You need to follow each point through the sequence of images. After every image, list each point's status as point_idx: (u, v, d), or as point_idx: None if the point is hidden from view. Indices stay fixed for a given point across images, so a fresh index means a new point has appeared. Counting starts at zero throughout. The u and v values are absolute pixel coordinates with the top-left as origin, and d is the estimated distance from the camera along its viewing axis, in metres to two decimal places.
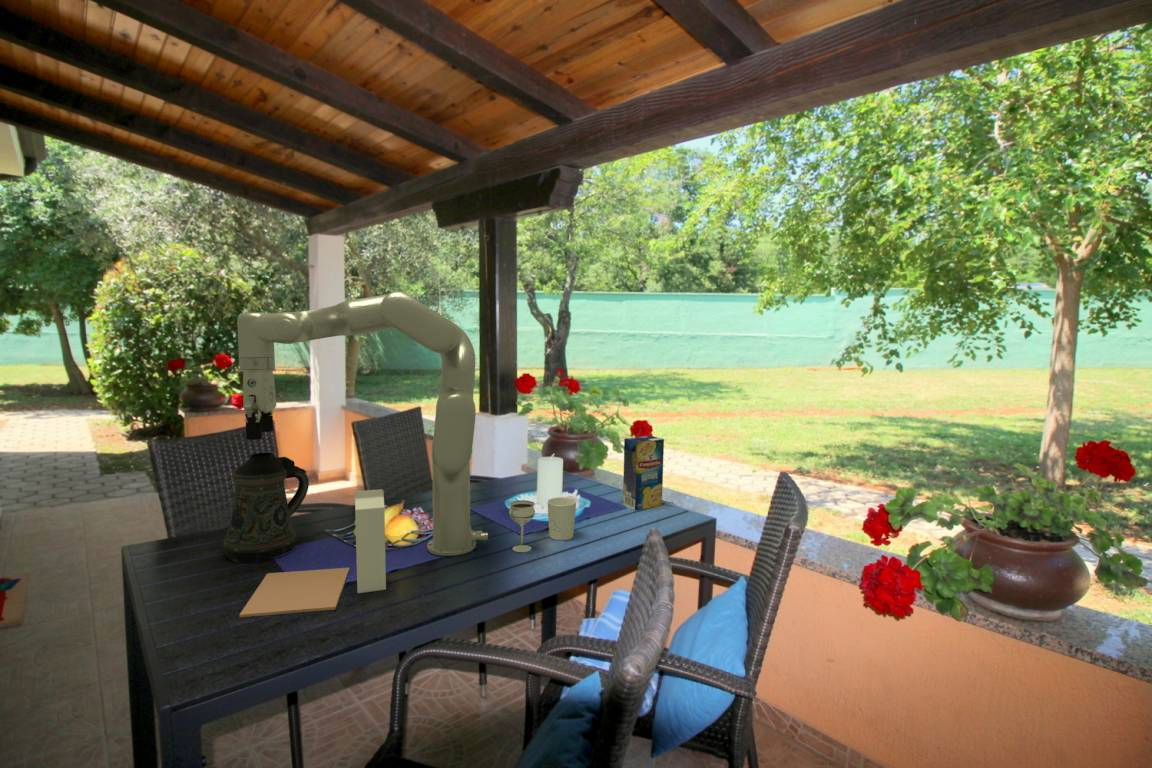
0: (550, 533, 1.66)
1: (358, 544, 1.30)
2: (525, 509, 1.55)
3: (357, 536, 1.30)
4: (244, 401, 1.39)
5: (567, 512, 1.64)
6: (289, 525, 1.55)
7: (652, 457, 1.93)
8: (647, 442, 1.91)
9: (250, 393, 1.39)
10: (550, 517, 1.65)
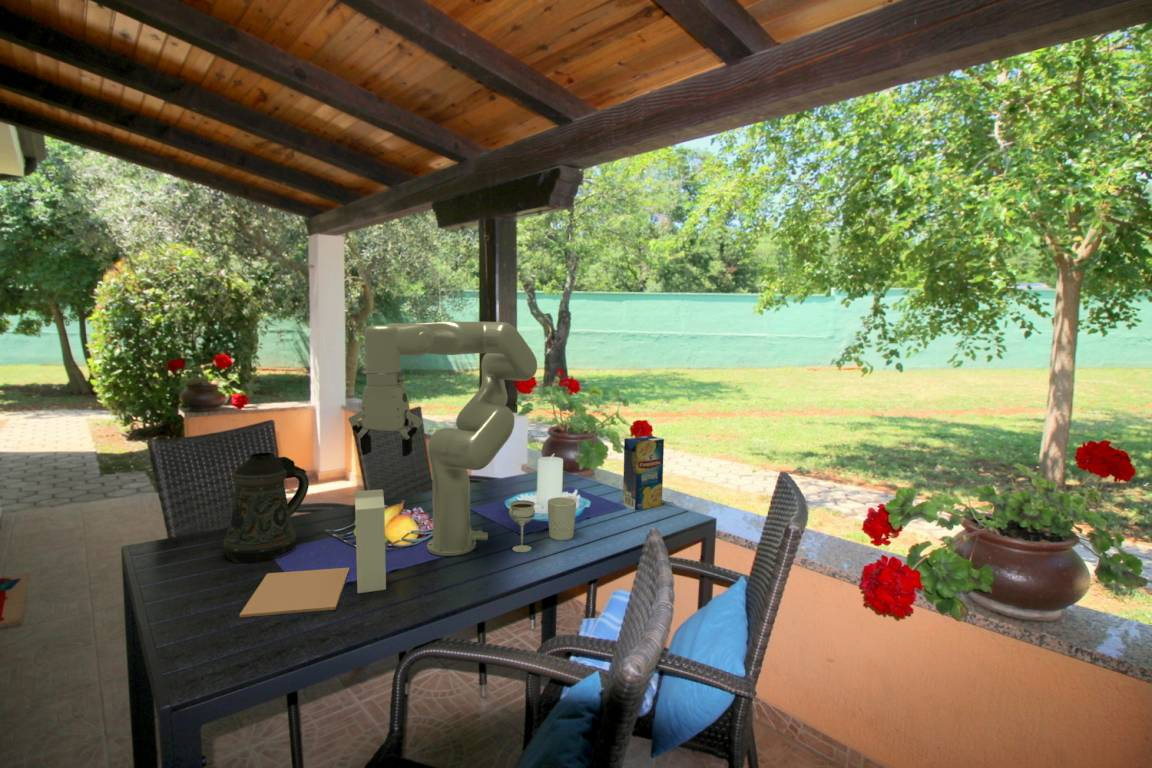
0: (550, 533, 1.66)
1: (357, 544, 1.30)
2: (525, 509, 1.55)
3: (357, 537, 1.30)
4: (402, 417, 1.35)
5: (567, 512, 1.64)
6: (289, 525, 1.55)
7: (652, 457, 1.93)
8: (647, 442, 1.91)
9: (405, 408, 1.36)
10: (550, 517, 1.65)
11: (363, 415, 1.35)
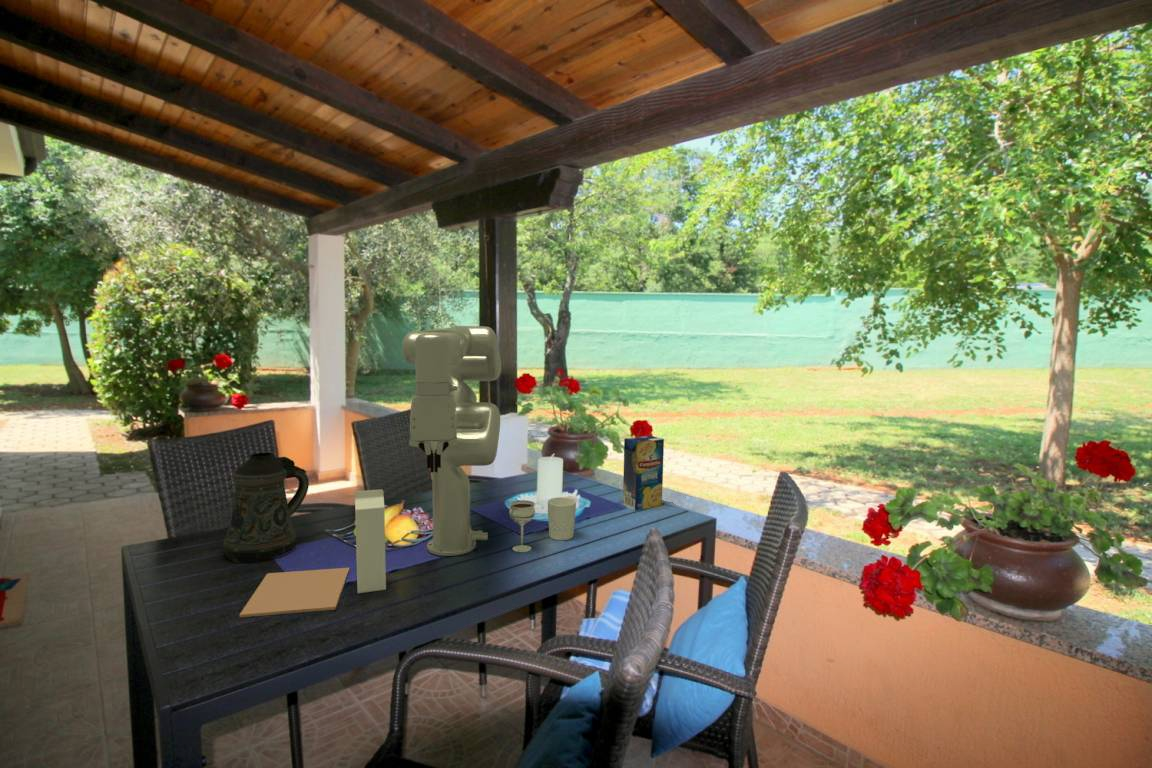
0: (550, 533, 1.66)
1: (357, 544, 1.30)
2: (525, 509, 1.55)
3: (357, 537, 1.30)
4: (456, 427, 1.34)
5: (567, 512, 1.64)
6: (289, 525, 1.55)
7: (652, 457, 1.93)
8: (647, 442, 1.91)
9: None
10: (550, 517, 1.65)
11: (413, 426, 1.31)
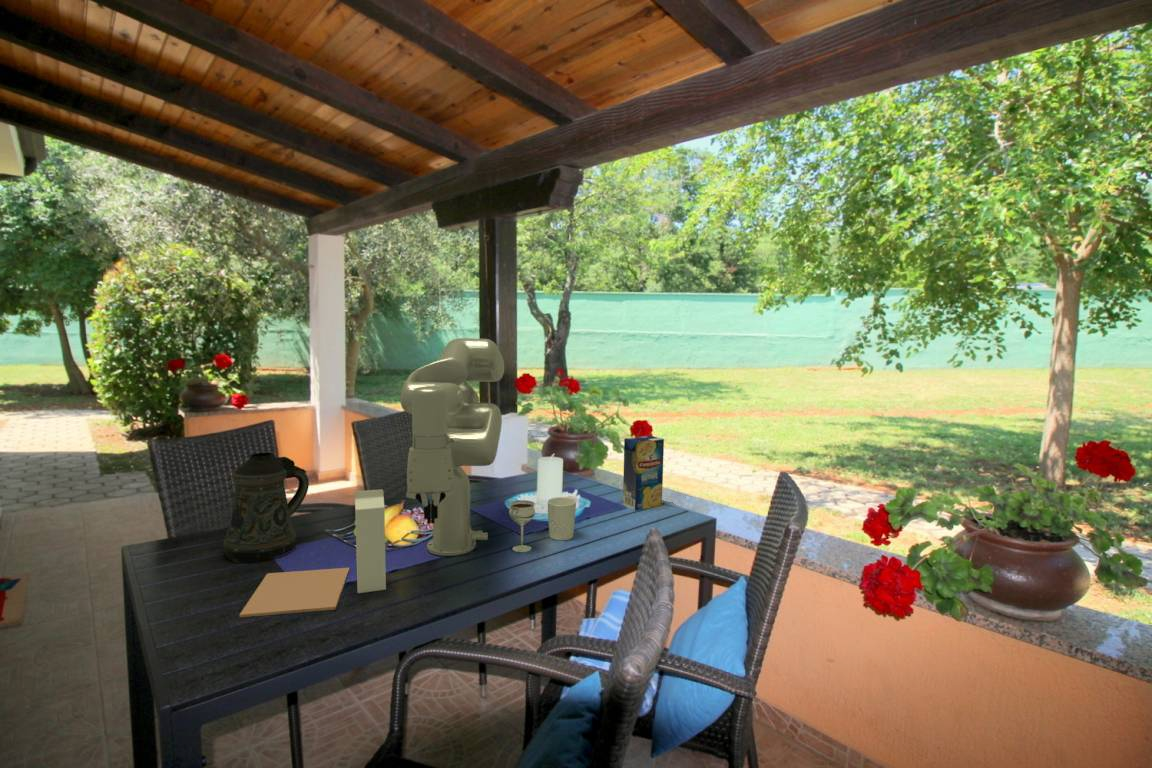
0: (550, 533, 1.66)
1: (357, 544, 1.30)
2: (525, 509, 1.55)
3: (357, 537, 1.30)
4: (452, 478, 1.35)
5: (567, 512, 1.64)
6: (289, 525, 1.55)
7: (652, 457, 1.93)
8: (647, 442, 1.91)
9: None
10: (550, 517, 1.65)
11: (410, 479, 1.32)
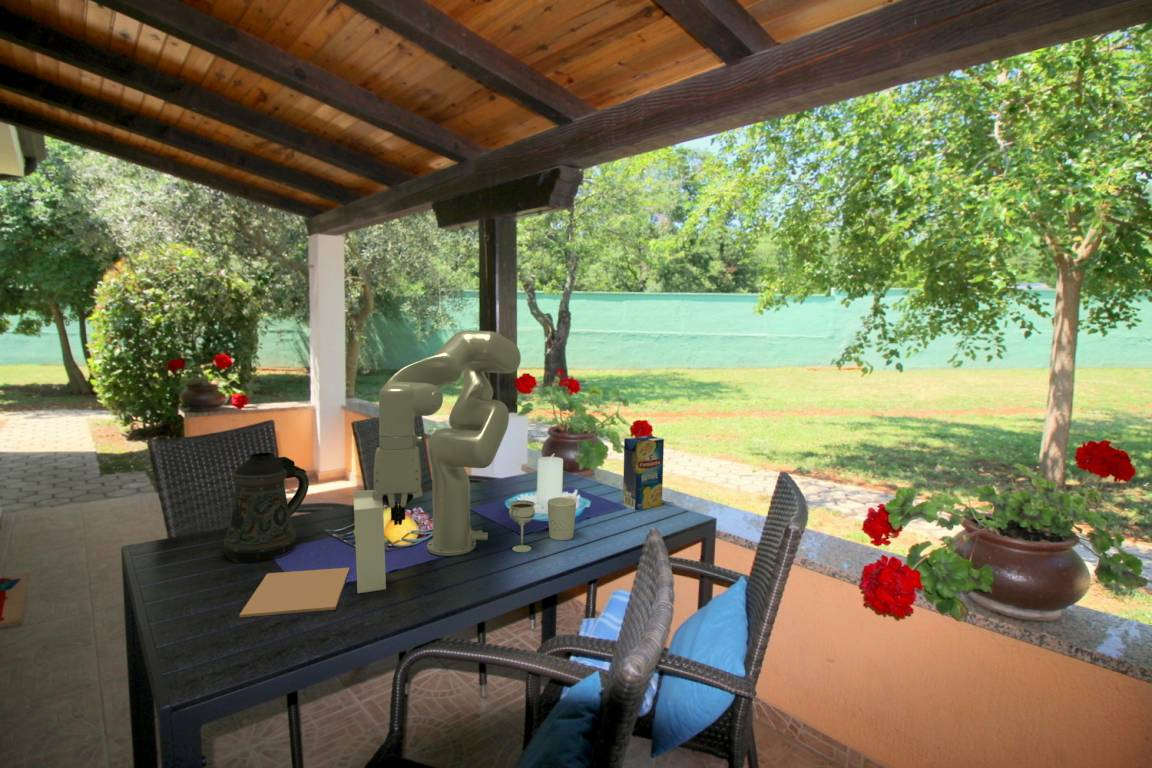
0: (550, 533, 1.66)
1: (357, 544, 1.30)
2: (525, 509, 1.55)
3: (356, 537, 1.30)
4: (420, 479, 1.33)
5: (567, 512, 1.64)
6: (289, 525, 1.55)
7: (652, 457, 1.93)
8: (647, 442, 1.91)
9: None
10: (550, 517, 1.65)
11: (377, 480, 1.31)
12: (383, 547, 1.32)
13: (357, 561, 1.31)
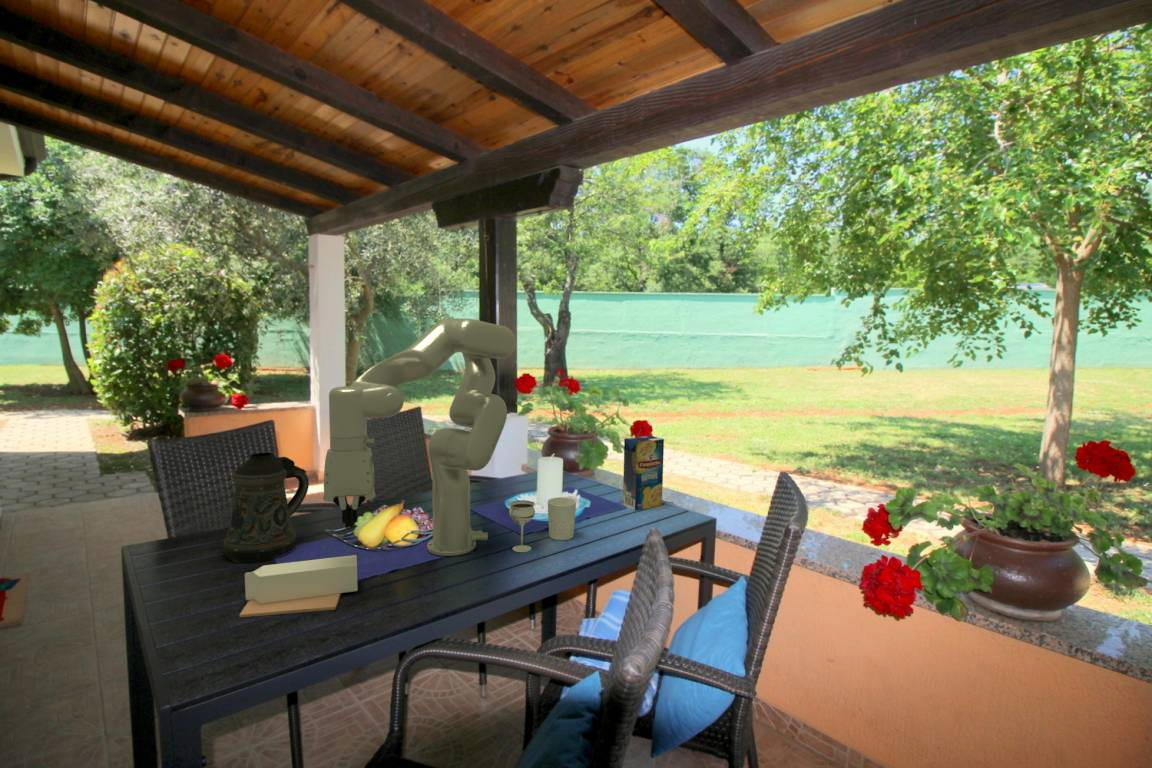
0: (550, 533, 1.66)
1: (302, 597, 1.27)
2: (525, 509, 1.55)
3: (293, 598, 1.27)
4: (371, 481, 1.31)
5: (567, 512, 1.64)
6: (289, 525, 1.55)
7: (652, 457, 1.93)
8: (647, 442, 1.91)
9: None
10: (550, 517, 1.65)
11: (327, 482, 1.29)
12: (308, 571, 1.27)
13: (321, 594, 1.29)
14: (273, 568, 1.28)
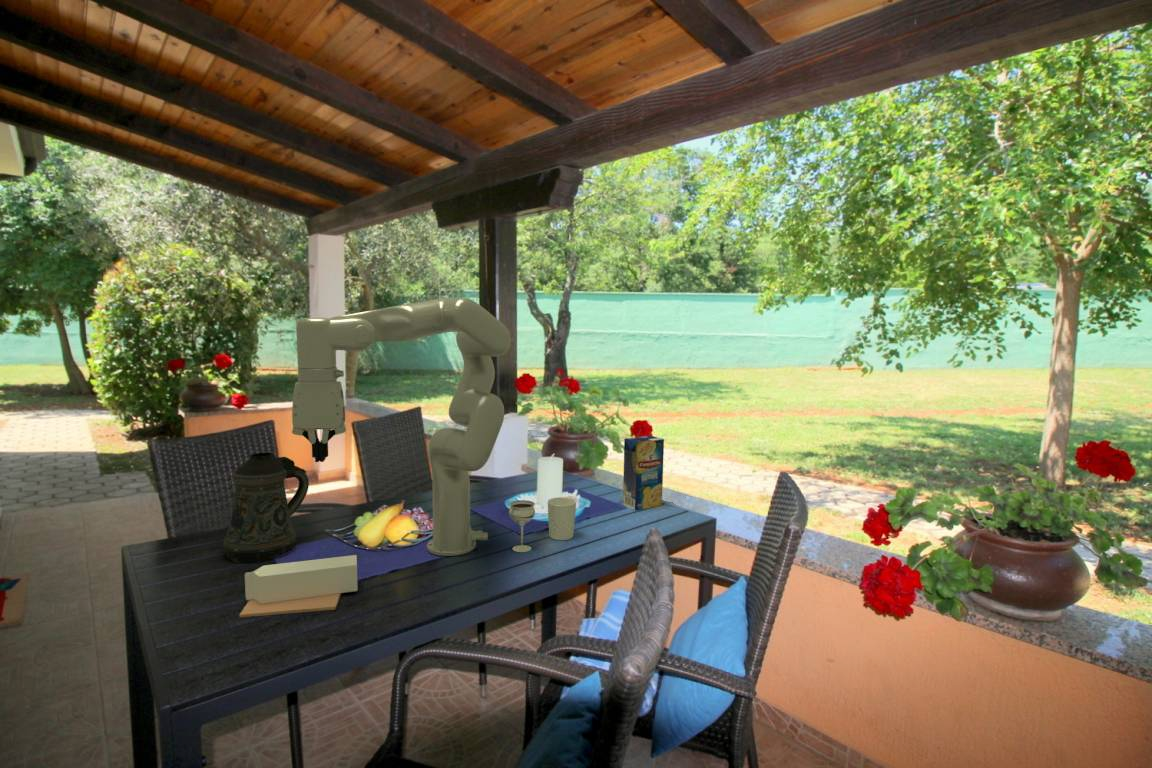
0: (550, 533, 1.66)
1: (302, 597, 1.27)
2: (525, 509, 1.55)
3: (293, 598, 1.27)
4: (341, 414, 1.28)
5: (567, 512, 1.64)
6: (289, 525, 1.55)
7: (652, 457, 1.93)
8: (647, 442, 1.91)
9: None
10: (550, 517, 1.65)
11: (295, 414, 1.26)
12: (308, 571, 1.27)
13: (321, 594, 1.29)
14: (273, 568, 1.28)
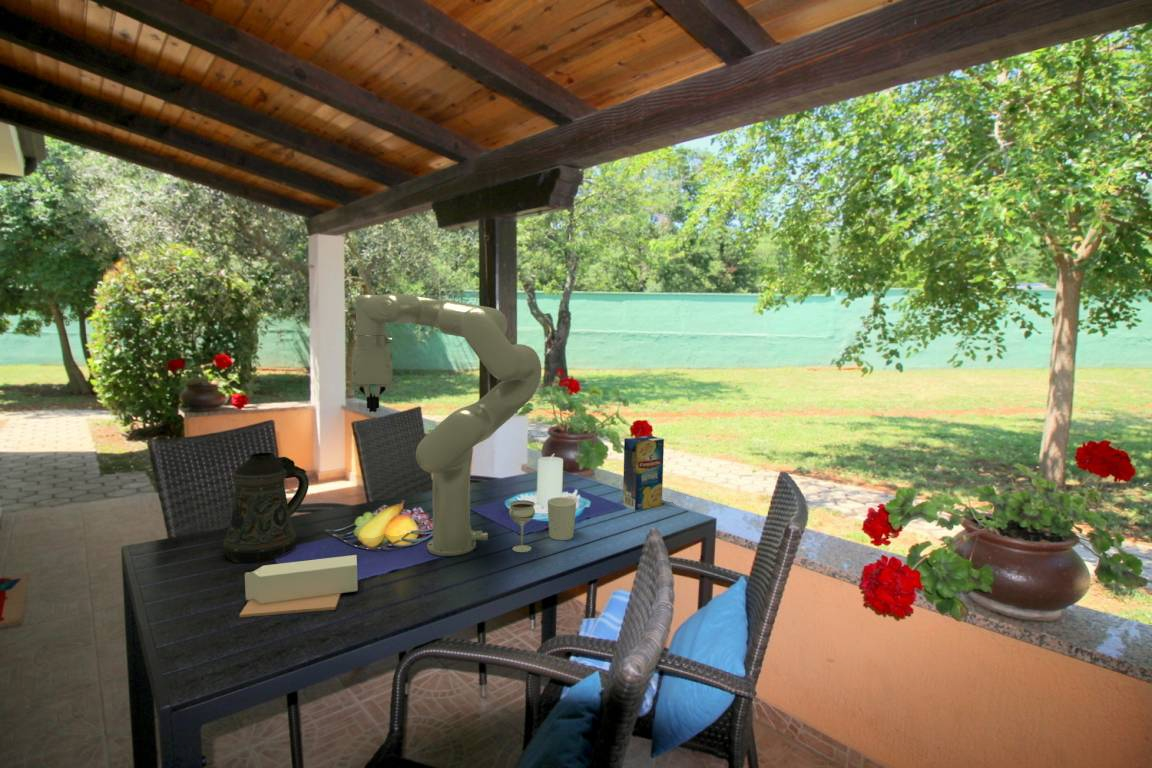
0: (550, 533, 1.66)
1: (302, 597, 1.27)
2: (525, 509, 1.55)
3: (293, 598, 1.27)
4: (391, 373, 1.58)
5: (567, 512, 1.64)
6: (289, 525, 1.55)
7: (652, 457, 1.93)
8: (647, 442, 1.91)
9: (391, 371, 1.60)
10: (550, 517, 1.65)
11: (354, 372, 1.56)
12: (308, 571, 1.27)
13: (321, 594, 1.29)
14: (273, 568, 1.28)
